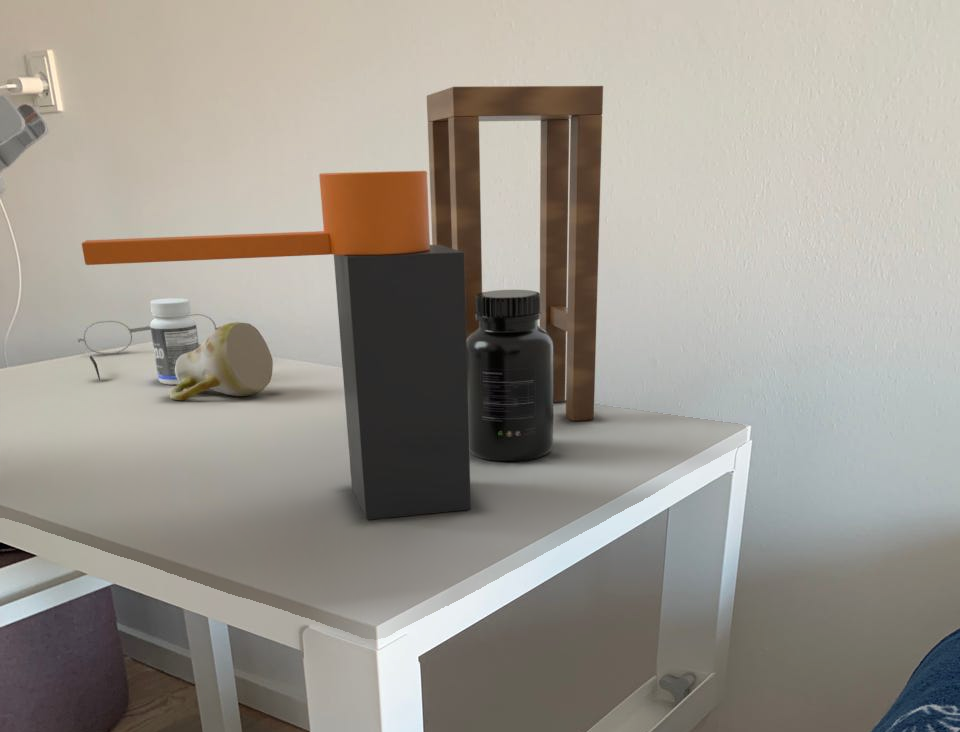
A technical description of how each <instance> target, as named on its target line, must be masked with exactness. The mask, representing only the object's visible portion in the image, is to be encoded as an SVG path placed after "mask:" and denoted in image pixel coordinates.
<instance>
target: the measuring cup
mask: <svg viewBox="0 0 960 732" xmlns="http://www.w3.org/2000/svg"><path fill="white" fill-rule="evenodd" d="M318 177H319V187H320V188H319V191H320V200H321V212H322V213H321V215H322V225H323V230H319V231H317V230H316V231H294V232H293V231H292V232H290V231H289V232H268V233H265V232H264V233H243V234H242V233H241V234H217V235H216V234H214V235H211V234H210V235H190V236H189V235H187V236H164V237H162V236H161V237H139V238H138V237H137V238H136V237H135V238H133V237H132V238H113V239H112V238H111V239H109V238H108V239H87V240H85V241H83V242H81V248H82V254H83V259H84V265H86V266H95V265H97V266H98V265H117V264H119V265H120V264H142V263H143V264H144V263H145V264H146V263H166V262H167V263H168V262H187V261H190V262H191V261H213V260H234V259H235V260H237V259H254V258H255V259H257V258H258V259H259V258H282V257H303V256H304V257H305V256H327V255H333V256H334V255H352V256H365V255H394V254H408V253H418V252H424V251H428V250H430V245H431V239H430V238H431V237H430V216H429V215H430V213H429V190H428V188H429V187H428V171H427V170H397V171H395V170H394V171H393V170H392V171H391V170H390V171H356V172H355V171H354V172H353V171H351V172H325V173H324V172H323V173H319V175H318Z"/></svg>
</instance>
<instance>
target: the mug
mask: <svg viewBox="0 0 960 732" xmlns="http://www.w3.org/2000/svg"><path fill="white" fill-rule="evenodd" d="M218 327H219V328H218ZM218 327H217V328H218V329H216V330H215V329H214V330H213V331H212V332H211V333H210V334H209V335H208V336H207V337H205V339H204V340H203V341H202V343H200V344H201V345H200V344H199V345H200V346H199V347H198V348H197V349H196V350H194V351H191V352H188V353H185V354H183V355H181V356H180V357H179V358H178V359H177V361H176V365H175V374H176V377H177V379H178V381H179V382H180V384H176V385H175V386H174V387H173V388H172V389H171V390H170V393H169V398H170V399H171V400H175V401H185V400H188V399H191V398H193V397H194V396H197V395H199V394H201V393H203V392H206V391H214V392H217V393H220V394H224V395H228V396H233V397H247V396H252V395H254V394H257V393H260V392H262V391H264V390H265V389H266V387H267V386H268V385H269V384H270V383H271V380H272V376H273V367H274V365H273V363H274V362H273V357H272V354H271V351H270V349H269V346H268V343H267V342H266V340H265V339H264V336H263V335H262V333H261V332H260V331H259V330H258V329H257V328H256V327H255V326H254V325H252V324H250V323H248V322H241V321H239V322H237V321H236V322H229V323H226V324H223V325H221V326H218Z"/></svg>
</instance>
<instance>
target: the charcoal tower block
mask: <svg viewBox="0 0 960 732" xmlns="http://www.w3.org/2000/svg"><path fill="white" fill-rule="evenodd" d="M333 262H334V278H335V288H336V289H335V290H336V303H337V314H338V316H337V317H338V328H339V338H340V339H339V341H340V354H341V366H342V379H343V389H344V390H343V391H344V405H345V417H346V429H347V443H348V457H349V468H350V480H351V481H350V482H351V491H352V493H353V495H354V496H355V499H356V501H357V503H358V505H359V507H360V509H361V511H362V514H363V516H364V517H365V520H367V521H369V520H379V519H387V518H399V517H408V516H418V515H420V516H421V515H429V514H430V515H431V514H439V513H440V514H441V513H449V512H450V513H451V512H459V511H469V510H471V508H472V507H471V506H472V502H471V500H472V499H471V465H470V464H471V461H470V458H471V457H470V449H469V419H468V380H467V342H466V303H465V264H464V252H461V251H458V250H455V249H452V248H449V247H445V246H442V245H432V244H430V250H428V251H424V252H418V253H408V254H394V255H365V256H352V255H333Z"/></svg>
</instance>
